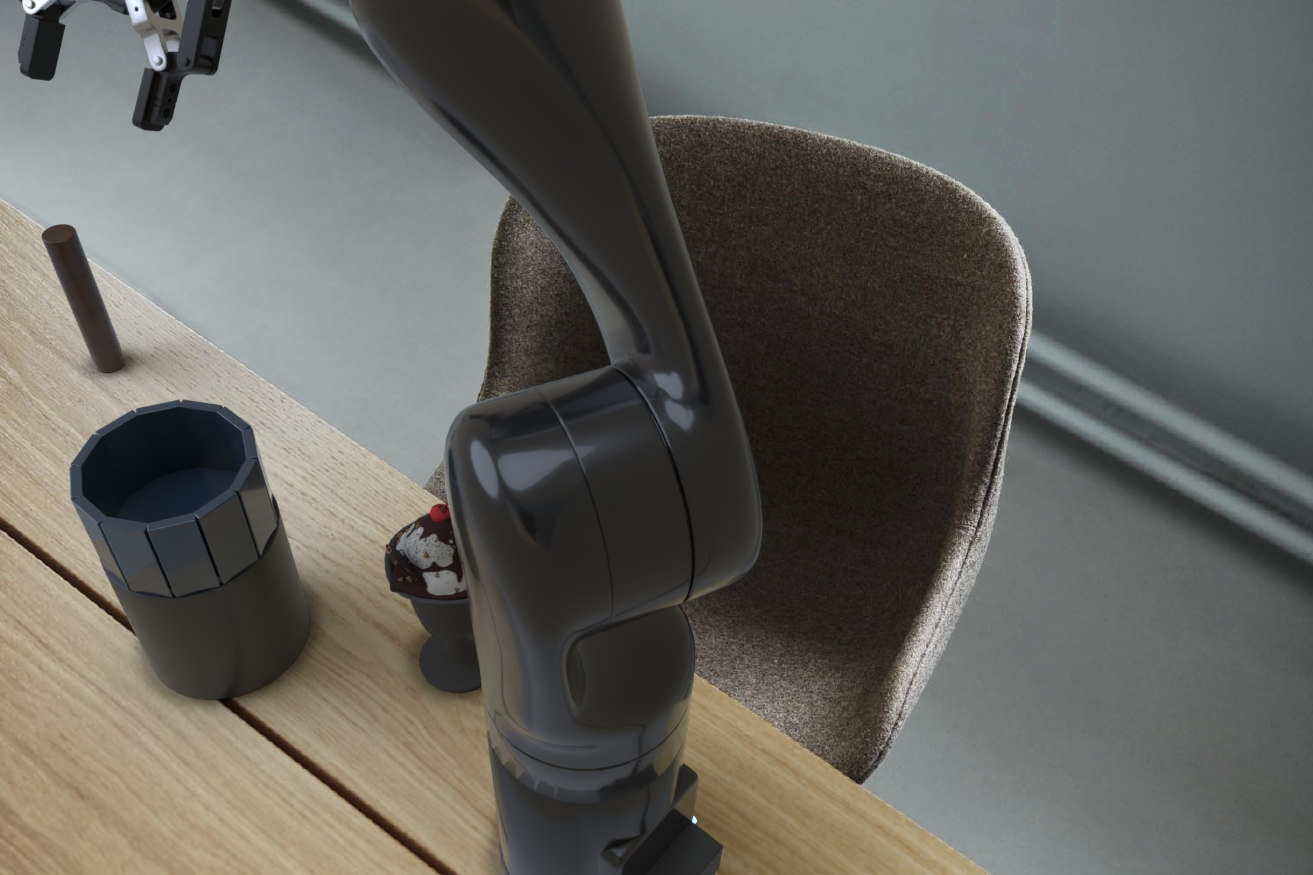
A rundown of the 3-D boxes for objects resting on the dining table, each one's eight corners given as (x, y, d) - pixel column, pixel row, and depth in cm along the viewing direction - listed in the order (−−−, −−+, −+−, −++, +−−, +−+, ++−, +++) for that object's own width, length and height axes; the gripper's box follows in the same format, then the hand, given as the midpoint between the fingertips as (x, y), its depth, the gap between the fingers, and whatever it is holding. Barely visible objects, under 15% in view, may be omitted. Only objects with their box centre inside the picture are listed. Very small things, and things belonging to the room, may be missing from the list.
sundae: (523, 617, 73) (512, 456, 62) (503, 710, 68) (487, 553, 57) (420, 606, 73) (391, 443, 62) (393, 698, 68) (356, 539, 57)
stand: (342, 625, 72) (315, 522, 64) (211, 730, 66) (166, 630, 59) (246, 546, 76) (211, 441, 68) (116, 638, 70) (62, 534, 63)
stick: (131, 362, 87) (82, 232, 79) (105, 377, 86) (52, 246, 78) (115, 349, 88) (64, 219, 80) (89, 363, 87) (34, 233, 78)
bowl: (310, 523, 64) (292, 456, 61) (167, 625, 59) (137, 560, 55) (210, 444, 68) (187, 376, 64) (68, 534, 63) (33, 467, 59)
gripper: (4, -223, 65) (-49, 55, 70) (214, -138, 63) (145, 144, 68) (98, -183, 73) (43, 68, 77) (289, -105, 70) (221, 148, 75)
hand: (91, 103), depth 73 cm, fingers open, 8 cm apart
